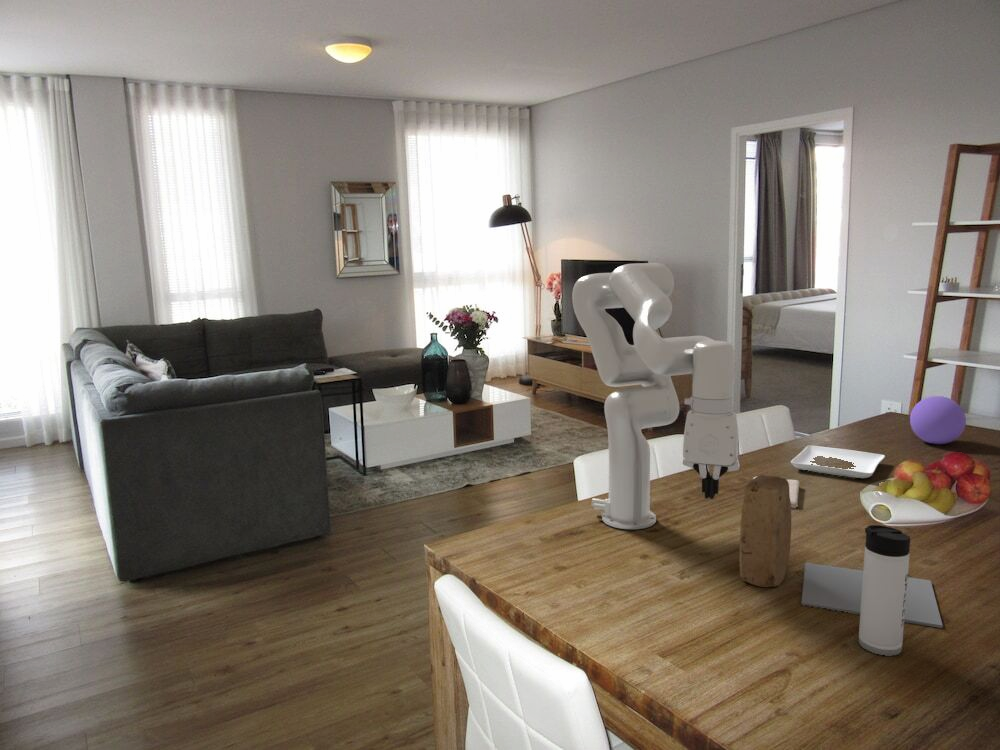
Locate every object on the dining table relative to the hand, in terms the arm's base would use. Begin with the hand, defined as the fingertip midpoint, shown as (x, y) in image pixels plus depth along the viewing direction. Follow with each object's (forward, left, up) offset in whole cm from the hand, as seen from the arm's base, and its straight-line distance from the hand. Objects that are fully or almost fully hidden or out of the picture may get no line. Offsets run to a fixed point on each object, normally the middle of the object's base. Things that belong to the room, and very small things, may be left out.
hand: (710, 496), depth 146 cm
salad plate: (+24, +80, -16) cm, 85 cm away
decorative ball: (+52, +117, -16) cm, 129 cm away
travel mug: (+30, -19, -16) cm, 38 cm away
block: (+11, 0, -16) cm, 19 cm away
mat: (+29, 0, -15) cm, 33 cm away
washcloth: (+9, +50, -16) cm, 53 cm away
